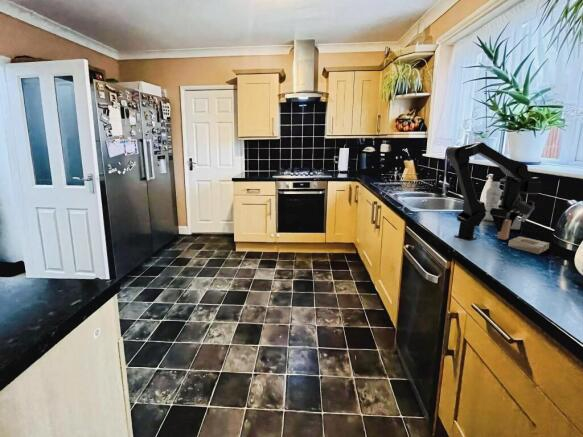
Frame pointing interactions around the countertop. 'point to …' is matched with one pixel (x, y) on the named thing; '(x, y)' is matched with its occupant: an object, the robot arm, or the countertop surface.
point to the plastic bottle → (492, 199)
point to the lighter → (519, 222)
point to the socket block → (528, 244)
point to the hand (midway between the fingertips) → (503, 230)
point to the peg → (505, 230)
